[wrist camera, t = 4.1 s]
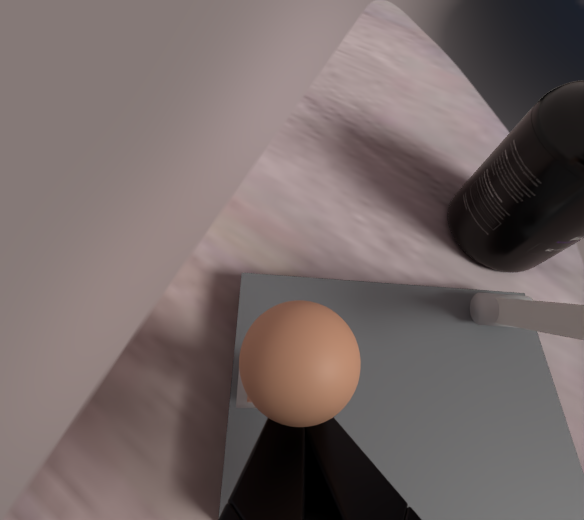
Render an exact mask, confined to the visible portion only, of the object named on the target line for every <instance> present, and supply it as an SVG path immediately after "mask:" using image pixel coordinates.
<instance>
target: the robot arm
mask: <svg viewBox="0 0 584 520" xmlns="http://www.w3.org/2000/svg"><path fill="white" fill-rule="evenodd" d="M407 507H408V503H407V502H406V501H405V500H404V498H403V497H402V496H401V495H400V494H399V493H398V491H397V490H396V489H395V488H394V487H393V486H392V484H391V483H390V482H389V481H388V480H387V479H386V477H385V476H384V475H383V474H382V473H381V472H380V470H379V469H378V468H377V467H376V466H375V465H374V463H373V462H372V461H371V460H370V459H369V458H368V457H367V455H366V454H365V453H364V452H363V451H362V450H361V448H360V447H359V446H358V445H357V444H356V443H355V441H354V440H353V439H352V438H351V437H350V436H349V434H348V433H347V432H346V431H345V430H344V429H343V427H342V426H341V425H340V424H339V423H338V422H337V420H336V419H335V418H334V417H333V418H331V419H329V420H328V421H326V422H323V423H321V424H318V425H314V426H309V427H290V426H286V425H282V424H280V423H277V422H275V421H273V420H271V419H269V418H267V420H266V422H265V424H264V427H263V429H262V431H261V433H260V435H259V437H258V439H257V441H256V443H255V445H254V447H253V449H252V451H251V454H250V456H249V458H248V460H247V462H246V464H245V466H244V468H243V470H242V472H241V474H240V476H239V478H238V480H237V483H236V485H235V487H234V489H233V491H232V493H231V495H230V497H229V499H228V503H227V504H226V505H225V507H224V509H223V511H222V513H221V515H220V517H219V519H218V520H422V519H421V518H420V517H419V516H418V515H417V513H416V512H415V511H414V510H413V509H412V508H411V507H408V508H407Z"/></svg>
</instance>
